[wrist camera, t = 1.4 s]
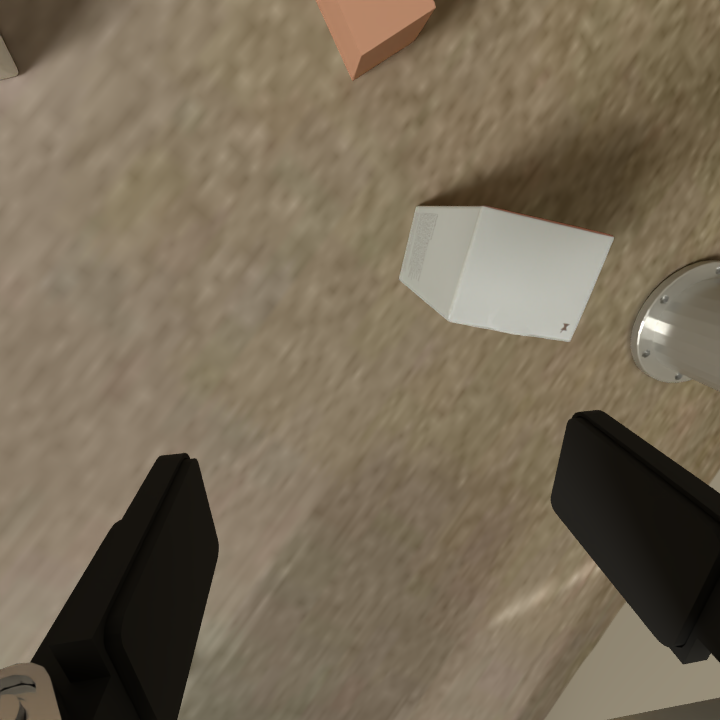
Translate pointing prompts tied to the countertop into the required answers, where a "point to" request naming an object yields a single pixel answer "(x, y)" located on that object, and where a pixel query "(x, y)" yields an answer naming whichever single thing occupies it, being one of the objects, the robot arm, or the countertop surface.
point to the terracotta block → (373, 28)
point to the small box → (503, 269)
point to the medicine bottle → (6, 62)
